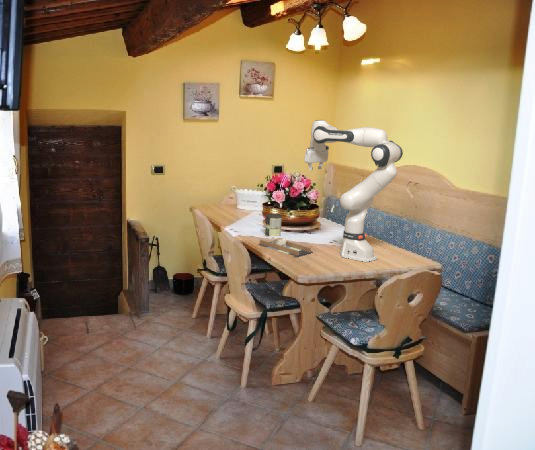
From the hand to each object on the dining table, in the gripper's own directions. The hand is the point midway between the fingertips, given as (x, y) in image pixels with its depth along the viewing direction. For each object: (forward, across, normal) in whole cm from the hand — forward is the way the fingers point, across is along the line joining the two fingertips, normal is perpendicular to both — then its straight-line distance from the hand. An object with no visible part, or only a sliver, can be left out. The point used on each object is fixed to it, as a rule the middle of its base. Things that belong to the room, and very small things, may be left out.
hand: (315, 169), depth 330 cm
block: (+46, -24, +6) cm, 52 cm away
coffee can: (+47, -4, +27) cm, 54 cm away
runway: (+47, -24, +1) cm, 53 cm away
